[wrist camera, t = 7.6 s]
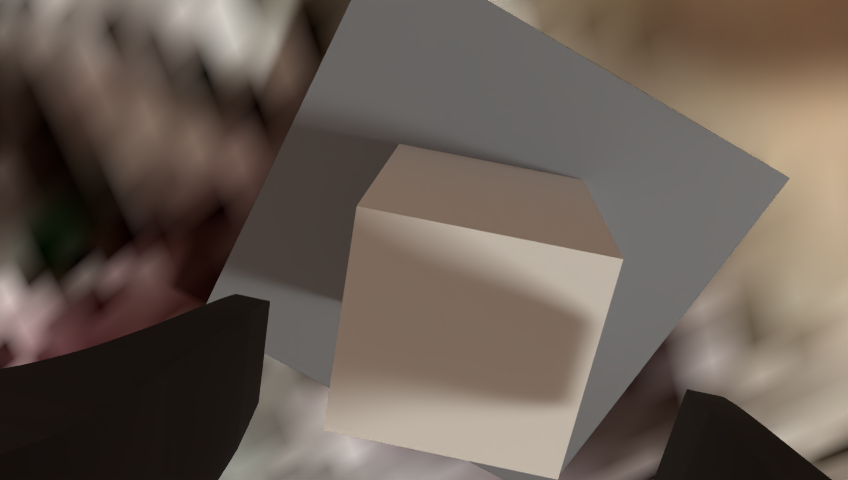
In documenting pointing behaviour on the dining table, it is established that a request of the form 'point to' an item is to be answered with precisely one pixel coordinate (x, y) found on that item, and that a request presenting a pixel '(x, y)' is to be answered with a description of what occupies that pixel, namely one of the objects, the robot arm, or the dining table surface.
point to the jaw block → (471, 310)
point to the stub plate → (501, 143)
